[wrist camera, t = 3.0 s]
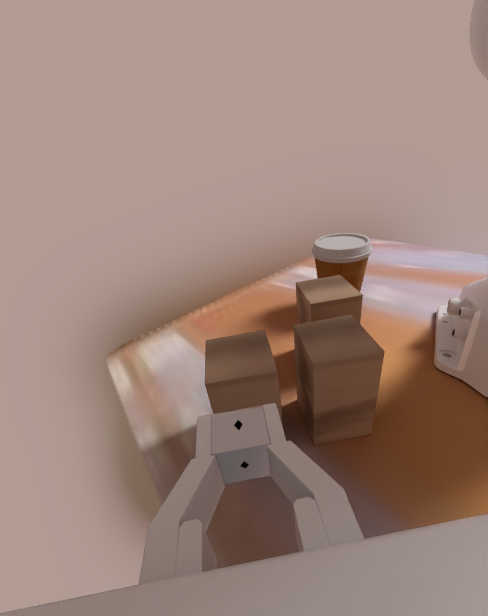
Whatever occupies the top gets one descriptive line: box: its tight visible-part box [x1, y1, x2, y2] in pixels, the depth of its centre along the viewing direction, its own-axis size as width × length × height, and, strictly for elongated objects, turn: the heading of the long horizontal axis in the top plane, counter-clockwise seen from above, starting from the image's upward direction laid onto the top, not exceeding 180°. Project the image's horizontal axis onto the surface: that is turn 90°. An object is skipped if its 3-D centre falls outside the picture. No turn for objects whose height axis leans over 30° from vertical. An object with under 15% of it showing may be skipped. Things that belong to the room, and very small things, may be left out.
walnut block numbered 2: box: [296, 275, 363, 324], centre depth 36 cm, size 6×6×11 cm
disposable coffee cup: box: [312, 233, 373, 292], centre depth 47 cm, size 10×10×12 cm
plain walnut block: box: [205, 330, 283, 427], centre depth 27 cm, size 6×6×11 cm
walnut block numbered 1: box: [294, 315, 384, 446], centre depth 28 cm, size 6×6×11 cm
